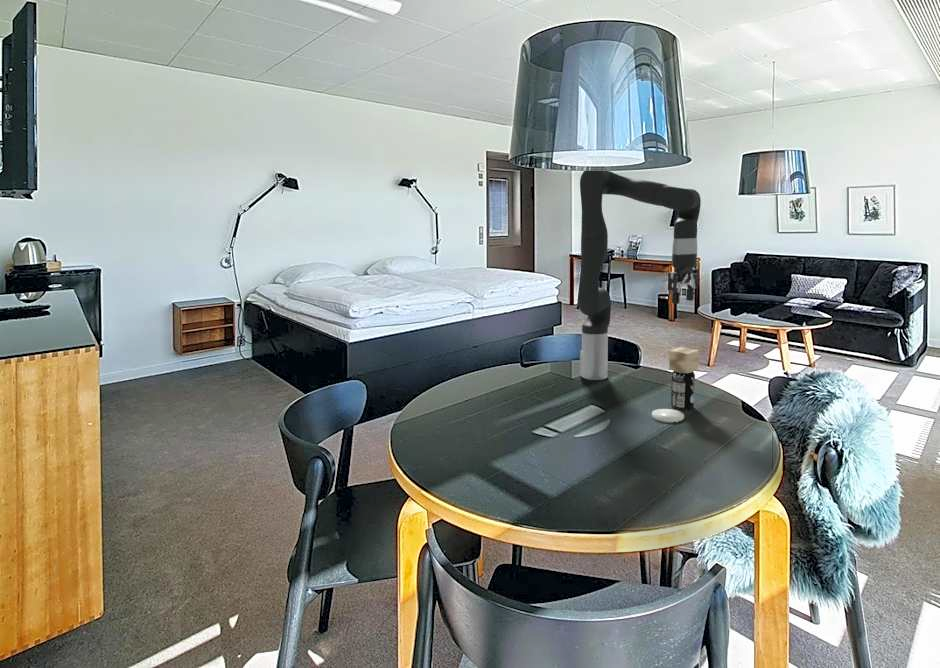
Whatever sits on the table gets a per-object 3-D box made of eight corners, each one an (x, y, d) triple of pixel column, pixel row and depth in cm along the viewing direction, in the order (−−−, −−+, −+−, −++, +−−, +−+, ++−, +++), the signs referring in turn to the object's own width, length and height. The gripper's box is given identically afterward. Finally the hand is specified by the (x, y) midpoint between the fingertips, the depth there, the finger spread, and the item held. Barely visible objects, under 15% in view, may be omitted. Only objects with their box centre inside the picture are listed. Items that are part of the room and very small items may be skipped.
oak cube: (669, 369, 170) (669, 350, 168) (679, 365, 173) (680, 347, 172) (687, 373, 165) (687, 353, 164) (697, 369, 169) (698, 350, 167)
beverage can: (690, 403, 174) (691, 366, 172) (696, 410, 168) (697, 372, 166) (668, 403, 175) (669, 366, 173) (674, 410, 169) (675, 372, 166)
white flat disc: (645, 417, 164) (645, 414, 164) (662, 409, 170) (663, 406, 169) (672, 425, 157) (672, 421, 157) (690, 417, 163) (690, 414, 162)
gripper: (686, 250, 186) (684, 298, 189) (661, 253, 177) (660, 303, 181) (707, 251, 180) (705, 300, 184) (683, 254, 172) (681, 305, 175)
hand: (682, 301), depth 182 cm, fingers open, 8 cm apart
